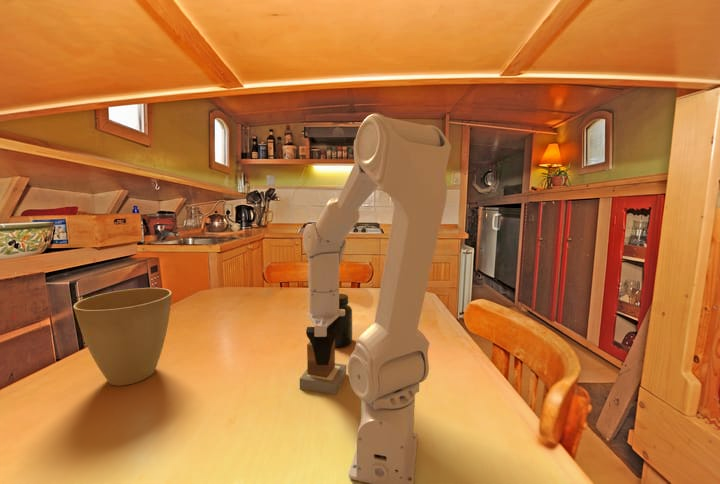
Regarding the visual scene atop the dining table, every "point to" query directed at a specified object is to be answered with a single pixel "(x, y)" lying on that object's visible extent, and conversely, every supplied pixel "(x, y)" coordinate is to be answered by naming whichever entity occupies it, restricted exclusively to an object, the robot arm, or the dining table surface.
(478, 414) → the dining table surface
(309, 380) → the base tile
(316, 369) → the walnut block
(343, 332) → the supplement bottle
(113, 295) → the plant pot
